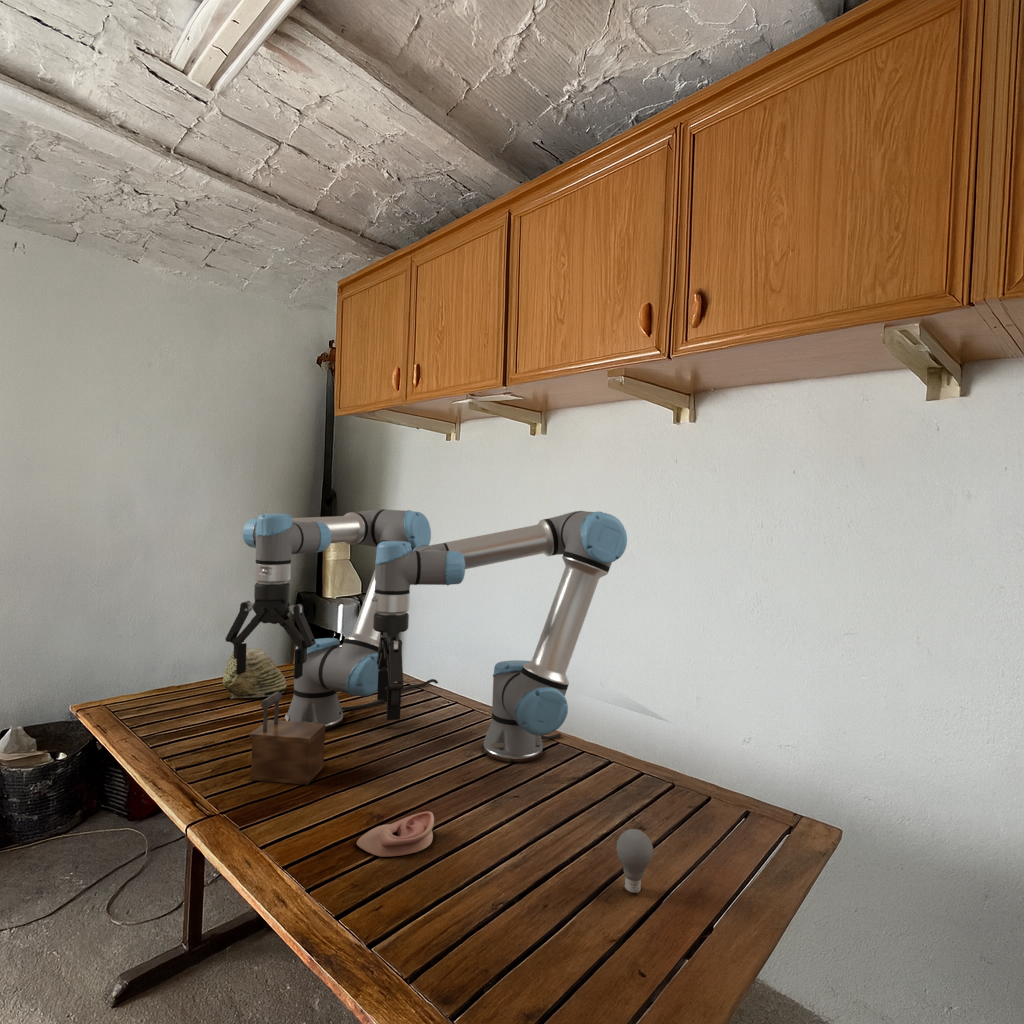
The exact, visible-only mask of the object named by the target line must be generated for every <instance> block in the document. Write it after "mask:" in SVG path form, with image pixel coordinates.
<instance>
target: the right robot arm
mask: <svg viewBox="0 0 1024 1024" xmlns="http://www.w3.org/2000/svg"><path fill="white" fill-rule="evenodd" d="M627 544H628V535H627V530H626V528H625V526H624V524H623V523H622V521H621V520H620V519H619V518H618V517H617V516H615V515H613V514H611V513H607V512H603V511H585V510H574V511H571V512H567V513H564V514H560V515H557V516H556V515H555V516H554V517H549V518H544V519H540V520H539V521H538V523H537V524H534V525H529V526H523V527H517V528H513V529H507V530H504V531H503V530H502V531H497V532H492V533H488V534H487V533H486V534H482V535H476V536H471V537H466V538H461V539H460V538H459V539H456V540H455V539H454V540H451V541H446V542H441V543H435V544H429V545H420V546H418V547H416V548H414V549H413V550H412V548H411V544H410V543H409V542H403V541H383V542H380V543H379V544H378V545H377V547H376V554H375V561H374V565H375V566H374V567H375V568H374V571H375V597H372V601H373V602H375V603H374V610H375V611H377V612H376V613H375V614H374V624H373V628H374V630H375V631H377V632H380V642H379V650H378V658H377V665H378V670H380V671H378V690H377V692H376V693H377V695H376V701H378V700H385V701H386V721H398V720H401V706H402V705H401V704H402V703H401V702H402V691H401V689H403V687H405V684H404V671H403V641H402V639H400V637H399V634H400V633H404V632H406V631H408V630H409V622H410V620H409V619H410V615H409V613H408V612H409V611H410V599H411V591H410V589H411V588H410V587H411V586H418V585H419V586H421V585H423V586H427V585H428V586H429V585H430V586H431V585H433V586H434V585H435V586H436V585H437V586H450V585H460V584H461V583H463V581H464V579H465V575H466V570H469V569H475V568H480V567H483V566H489V565H494V564H498V563H503V562H508V561H513V560H518V559H523V558H528V557H532V556H538V555H544V556H546V557H551V556H552V557H553V556H557V555H558V556H559V555H561V556H562V557H561V558H562V560H563V563H564V565H565V567H564V570H563V572H562V575H561V578H560V581H559V583H558V587H557V589H556V592H555V595H554V598H553V600H552V603H551V606H550V609H549V611H548V614H547V617H546V620H545V623H544V626H543V629H542V631H541V633H540V636H539V640H538V642H537V645H536V648H535V649H534V650H535V651H534V653H533V655H532V659H531V660H520V659H519V660H518V659H517V660H516V659H515V660H513V659H512V660H502V661H498V662H497V663H496V664H495V665H494V668H493V674H492V677H493V678H492V679H493V681H492V700H491V701H492V702H491V703H492V704H491V705H492V706H491V721H490V724H489V726H488V729H487V731H486V734H485V737H484V740H483V749H482V750H483V753H484V754H485V755H486V756H488V757H489V758H491V759H493V760H496V761H500V762H504V763H505V762H506V763H515V764H516V763H527V762H533V761H535V760H537V759H539V758H540V757H541V756H542V755H543V752H544V751H543V750H544V744H543V740H545V741H549V740H550V741H551V740H555V739H558V738H560V737H562V734H561V733H560V732H558V733H556V734H553V735H550V734H552V733H553V732H556V731H557V730H559V729H560V727H562V725H563V724H564V723H565V721H566V719H567V716H568V712H569V704H568V700H567V698H566V695H567V694H566V693H567V691H568V687H569V685H570V681H569V679H568V676H567V671H568V668H569V665H570V663H571V660H572V657H573V654H574V651H575V649H576V646H577V642H578V641H579V637H580V634H581V631H582V629H583V626H584V623H585V621H586V617H587V614H588V613H589V608H590V606H591V603H592V601H593V597H594V595H595V592H596V590H597V586H598V584H599V581H600V579H601V578H603V577H605V576H608V574H609V572H610V570H611V567H612V564H613V563H614V562H616V561H617V560H619V559H620V558H621V557H623V555H624V554H625V551H626V549H627ZM387 669H388V670H387Z"/></svg>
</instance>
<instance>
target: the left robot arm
mask: <svg viewBox="0 0 1024 1024" xmlns="http://www.w3.org/2000/svg"><path fill="white" fill-rule="evenodd" d="M242 539H243V542H244V543H245V545H247V546H248V547H250V548H252V549H255V569H254V580H255V581H256V582H255V584H254V592H253V593H254V594H253V595H254V596H253V597H254V602H252V601H250V600H245V601H243V602H241V603H240V604H239V612H238V614H237V615H236V617H235V620H234V621H233V623H232V625H231V626H230V628H229V631H228V633H227V634H226V636H225V638H224V639H225V642H227V643H231V644H233V645H232V646H233V652H234V659H237V669H236V675H240V674H242V673H244V672H246V647H247V643H245V641H246V640H247V638H248V637H249V636H250V635H251V634H252V632H253V631H255V629H256V628H257V627H258V626H259V625H260V624H261V623H262V624H272V625H277V624H278V625H280V627H281V628H283V629H284V632H286V633H287V635H288V636H289V637H290V639H291V640H292V642H293V643H294V644H295V645H296V647H295V650H294V657H293V659H294V660H293V662H294V663H293V665H294V666H293V695H292V696H293V697H292V699H291V702H290V704H289V708H288V711H287V713H285V716H284V719H285V721H293V722H306V723H320V724H325V731H329V730H332V729H335V728H337V727H339V726H340V725H342V723H343V722H344V713H343V711H351V710H352V711H353V710H359V709H364V708H365V709H366V708H369V707H373V706H377V705H378V704H382V703H383V702H385V701H386V700H375V701H372V702H368V703H364V704H358V705H351V706H341V702H340V699H339V695H338V692H340V693H343V694H347V695H350V696H353V697H358V696H359V697H370V696H372V695H374V694H375V693H377V690H378V671H380V670H378V665H377V658H378V650H379V642H380V632H377V631H375V630H374V628H373V624H374V614H375V613H376V612H377V611H375V610H374V603H375V602H373V601H372V597H375V570H374V571H373V573H372V577H371V579H370V582H369V585H368V588H367V591H366V594H365V596H364V598H363V602H362V605H361V608H360V611H359V613H358V616H357V619H356V621H355V625H354V627H353V630H352V633H351V634H350V635H348V636H346V637H345V638H344V639H343V642H342V645H341V646H340V644H341V643H340V640H339V639H338V638H335V637H324V638H323V637H322V638H315V637H314V634H313V632H312V630H311V627H310V625H309V623H308V620H307V618H306V616H305V613H304V605H303V604H302V603H298V604H294V605H293V604H292V605H291V603H290V599H291V598H290V597H291V584H290V583H289V581H290V580H291V571H292V570H291V569H292V568H291V563H292V555H299V554H317V553H321V552H324V551H326V550H327V549H328V548H329V546H330V545H331V544H342V543H345V544H347V545H349V546H355V545H357V546H358V545H359V546H367V547H373V548H377V545H378V544H379V543H380V542H383V541H403V542H409V543H410V544H411V548H412V550H413V549H414V548H416V547H418V546H420V545H431V544H430V543H431V539H432V529H431V525H430V522H429V519H428V517H426V515H425V514H424V513H422V512H420V511H416V510H410V509H408V510H403V509H402V510H400V509H398V510H397V509H383V508H377V509H369V510H362V511H352V512H350V511H349V512H347V513H345V514H344V515H338V516H336V515H335V516H312V517H311V516H310V517H292V515H291V514H286V513H261V514H259V515H258V517H257V518H251V519H250V520H248V521H247V522H246V523H245V524H244V526H243V528H242ZM252 610H253V612H254V613H255V615H254V616H253V617H252V618H251V619H250V622H249V623H247V625H246V626H245V627H244V628H243V629H242V627H243V626H244V624H245V622H246V620H247V618H248V616H249V614H250V612H251V611H252ZM289 613H291V615H293V617H294V620H295V623H296V625H297V627H298V628H297V627H296V625H295V624H294V623H293V621H292V619H291V617H290V615H289ZM241 629H242V631H241ZM240 631H241V632H240ZM387 670H388V669H387ZM431 683H434V684H439V681H438V680H437V679H435V678H430V679H428V680H426V681H424V682H422V683H417V684H411V685H407V686H404V687H403V689H401V692H403V691H408V690H411V689H415V688H416V689H417V688H420V687H425V686H427V685H429V684H431Z"/></svg>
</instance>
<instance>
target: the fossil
mask: <svg viewBox="0 0 1024 1024" xmlns="http://www.w3.org/2000/svg"><path fill="white" fill-rule="evenodd" d="M236 669H237V659H234V651H232V653H231V656H230V657H229V659H228V660H227V663H226V666H225V668H224V671H223V675H222V676H223V677H222V685H223V687H224V688H225V690H226V691H228V693H229V698H230V699H250V698H264V697H269V696H271V695H272V694H274V693H275V692H280V693H281V694H284V693H285V691H286V689H287V687H288V686H287V680H286V678H285V676H284V674H283V673H282V672H281V669H279V668H278V667H277V665H276V663H275V662H274V660H273V659H272V658H271V657H270V656H269V655H268V654H267V653H266V652H265V650H264V649H263V648H260V647H258V648H251V647H247V646H246V672H244V673H242V674H240V675H236Z"/></svg>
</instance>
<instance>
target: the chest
mask: <svg viewBox="0 0 1024 1024" xmlns="http://www.w3.org/2000/svg"><path fill="white" fill-rule="evenodd" d="M325 736H326V730H325V729H324V730H323V731H322V732H321V733H320V734H319V735H318V736H317V737H316V738H315V739H313V740H312V741H311V742H310V743H309V744H307V743H294V742H281V741H268V740H256V739H251V740H252V741H251V742H252V743H251V763H250V764H251V768H250V769H251V770H250V781H256V782H267V783H268V782H270V783H280V784H294V785H304V786H305V785H307V786H308V785H309V784H310V783H311V782H312V780H313V779H315V777H316V776H317V775H318V774H319V773H320V772H321V771H322V770H323V769H324V767H325V766H324V765H325V764H324V763H325V741H326V740H325V738H326V737H325Z"/></svg>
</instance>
